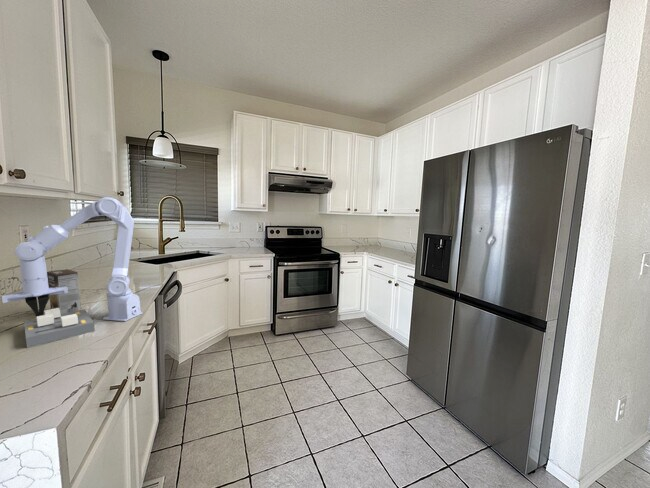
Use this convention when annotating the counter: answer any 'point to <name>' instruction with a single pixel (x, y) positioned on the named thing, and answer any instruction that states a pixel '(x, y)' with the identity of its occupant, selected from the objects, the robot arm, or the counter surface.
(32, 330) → the switch box
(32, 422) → the counter surface
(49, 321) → the switch middle
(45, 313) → the switch far
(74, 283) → the coffee box
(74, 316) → the switch near
